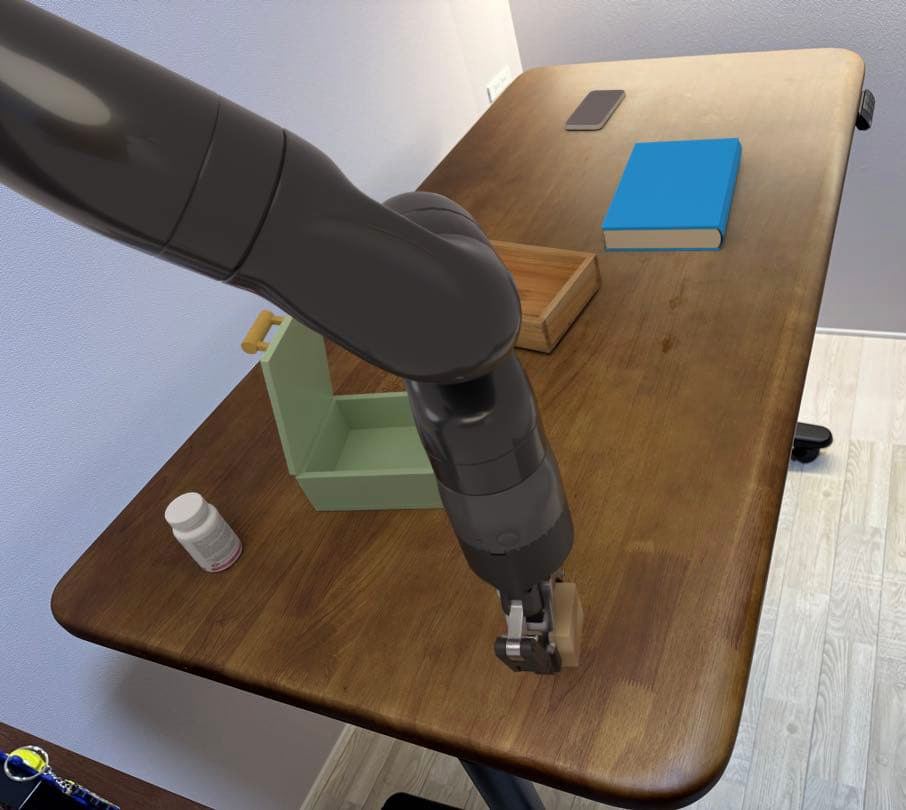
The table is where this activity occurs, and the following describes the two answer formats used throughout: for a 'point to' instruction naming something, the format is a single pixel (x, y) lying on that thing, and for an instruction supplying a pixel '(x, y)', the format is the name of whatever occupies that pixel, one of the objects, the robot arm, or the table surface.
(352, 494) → the green box
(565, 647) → the block
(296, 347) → the cover
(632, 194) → the book
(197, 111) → the robot arm
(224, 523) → the pill bottle
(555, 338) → the tray
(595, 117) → the smartphone
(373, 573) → the table surface
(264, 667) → the table surface
